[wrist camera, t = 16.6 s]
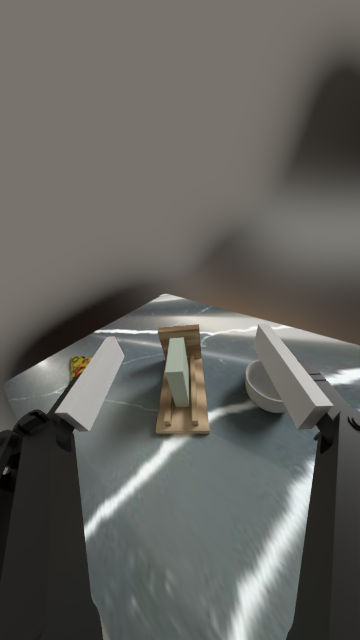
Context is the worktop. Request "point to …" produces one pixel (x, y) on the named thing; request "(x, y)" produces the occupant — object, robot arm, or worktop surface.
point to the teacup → (262, 388)
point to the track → (196, 414)
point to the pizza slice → (78, 365)
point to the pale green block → (178, 372)
